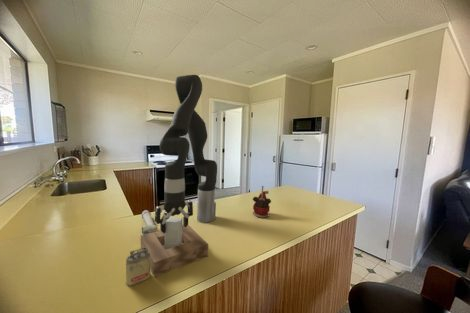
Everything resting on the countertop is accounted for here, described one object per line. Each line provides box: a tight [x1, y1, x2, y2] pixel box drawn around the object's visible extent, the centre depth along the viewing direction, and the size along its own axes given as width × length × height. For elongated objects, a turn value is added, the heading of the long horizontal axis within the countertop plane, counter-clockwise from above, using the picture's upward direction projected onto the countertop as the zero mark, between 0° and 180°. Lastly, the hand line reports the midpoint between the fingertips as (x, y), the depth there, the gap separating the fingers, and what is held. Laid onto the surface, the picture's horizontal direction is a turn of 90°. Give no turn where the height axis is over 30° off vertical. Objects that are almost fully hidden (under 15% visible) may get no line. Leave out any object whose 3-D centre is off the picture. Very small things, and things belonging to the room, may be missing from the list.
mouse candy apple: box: [252, 185, 272, 218], centre depth 117 cm, size 11×9×18 cm
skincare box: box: [164, 217, 183, 250], centre depth 77 cm, size 6×4×12 cm
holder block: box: [140, 224, 209, 278], centre depth 77 cm, size 20×20×5 cm
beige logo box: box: [125, 246, 151, 286], centre depth 62 cm, size 7×4×10 cm, turn 130°
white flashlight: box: [141, 209, 158, 235], centre depth 96 cm, size 5×7×25 cm
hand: (174, 229), depth 77 cm, fingers open, 8 cm apart
